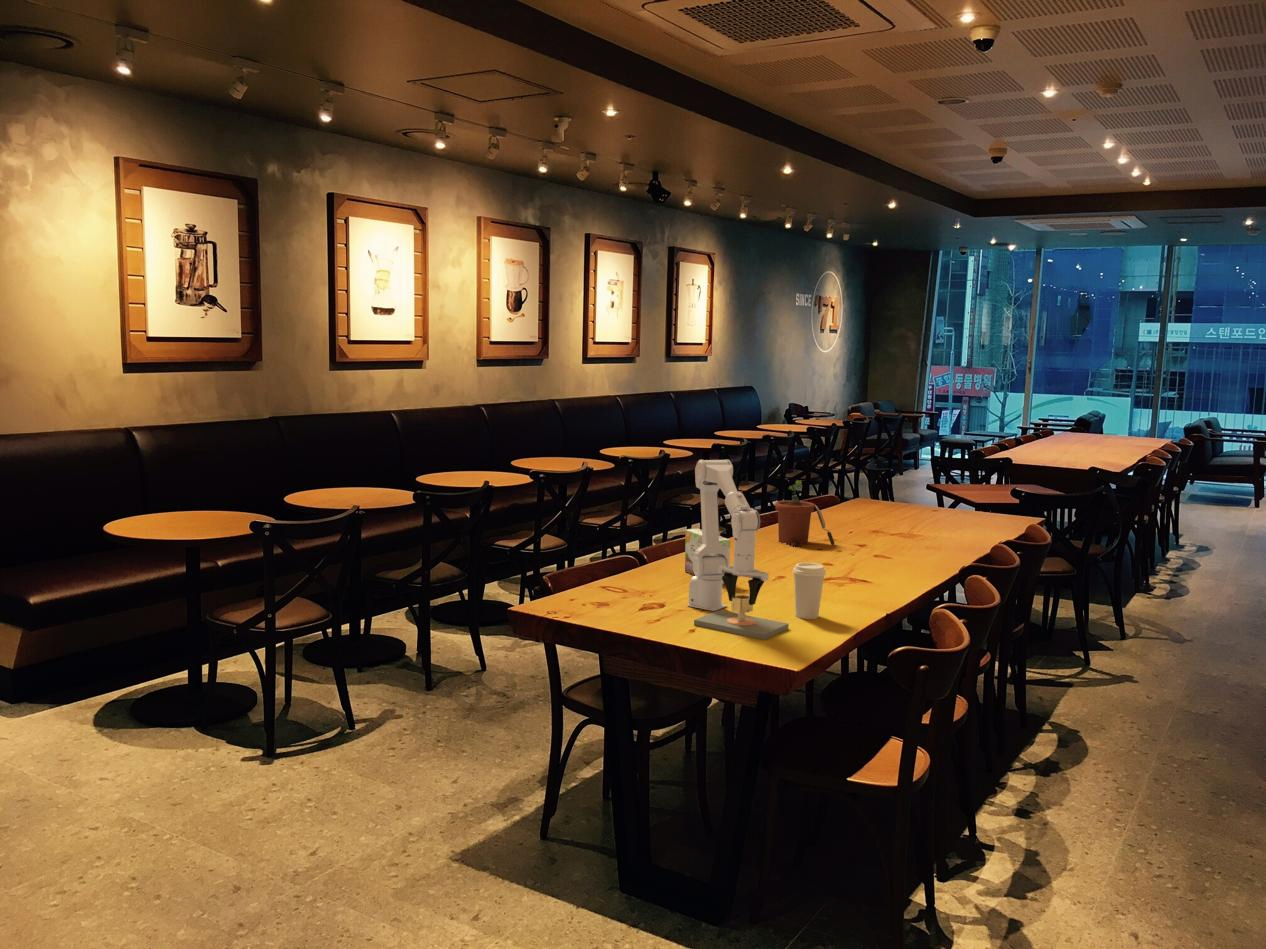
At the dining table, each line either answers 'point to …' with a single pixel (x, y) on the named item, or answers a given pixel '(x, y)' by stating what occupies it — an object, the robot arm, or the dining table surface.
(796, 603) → the coffee cup
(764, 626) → the post board
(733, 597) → the wooden collar
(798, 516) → the potted plant
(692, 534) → the snack box
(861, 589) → the dining table surface
